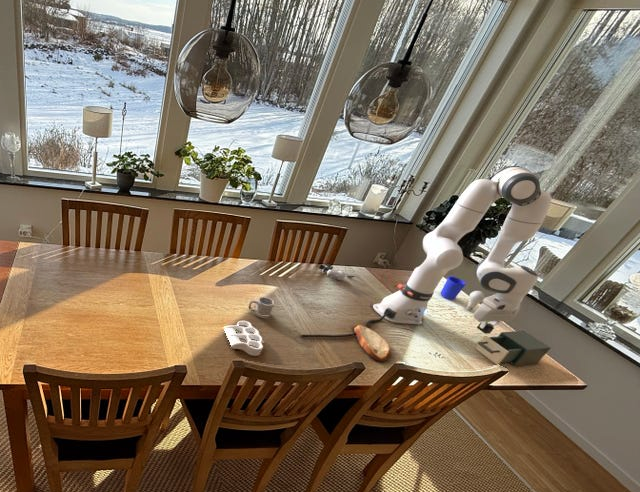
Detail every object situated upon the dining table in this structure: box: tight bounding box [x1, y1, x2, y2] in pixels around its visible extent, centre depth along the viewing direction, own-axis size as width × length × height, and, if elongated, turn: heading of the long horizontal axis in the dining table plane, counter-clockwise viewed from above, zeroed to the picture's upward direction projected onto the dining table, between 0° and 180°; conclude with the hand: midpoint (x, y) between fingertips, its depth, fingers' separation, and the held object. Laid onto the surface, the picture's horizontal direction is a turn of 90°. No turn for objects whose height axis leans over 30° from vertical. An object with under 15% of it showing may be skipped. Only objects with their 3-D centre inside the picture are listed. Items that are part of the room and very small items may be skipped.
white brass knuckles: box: [222, 320, 266, 357], centre depth 155 cm, size 3×18×15 cm
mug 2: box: [440, 275, 467, 300], centre depth 209 cm, size 8×12×10 cm
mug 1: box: [247, 296, 275, 319], centre depth 172 cm, size 10×7×7 cm
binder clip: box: [476, 322, 495, 335], centre depth 178 cm, size 3×4×4 cm
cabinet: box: [498, 330, 551, 366], centre depth 169 cm, size 14×12×9 cm
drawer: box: [475, 335, 524, 366], centre depth 166 cm, size 17×10×7 cm, turn 104°
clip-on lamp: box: [318, 263, 356, 281], centre depth 212 cm, size 12×6×18 cm
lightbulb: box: [465, 290, 486, 311], centre depth 198 cm, size 6×6×11 cm
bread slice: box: [354, 324, 391, 362], centre depth 163 cm, size 18×18×4 cm
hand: (485, 327), depth 178 cm, fingers closed on binder clip, 3 cm apart
